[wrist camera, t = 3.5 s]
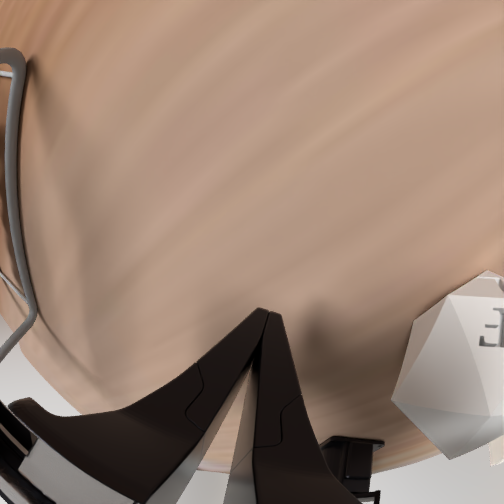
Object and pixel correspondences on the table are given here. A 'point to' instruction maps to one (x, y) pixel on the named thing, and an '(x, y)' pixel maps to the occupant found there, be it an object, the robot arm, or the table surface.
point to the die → (457, 368)
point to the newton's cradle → (15, 188)
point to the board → (496, 451)
